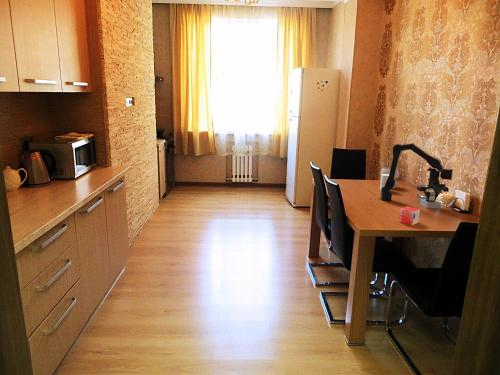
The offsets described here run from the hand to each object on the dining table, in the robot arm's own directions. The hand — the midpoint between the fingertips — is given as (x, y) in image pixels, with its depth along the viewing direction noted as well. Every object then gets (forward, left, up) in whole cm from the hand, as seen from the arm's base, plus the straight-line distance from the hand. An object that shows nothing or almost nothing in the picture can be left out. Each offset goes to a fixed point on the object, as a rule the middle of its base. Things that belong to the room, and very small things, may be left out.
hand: (430, 201), depth 240 cm
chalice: (-6, +59, -4) cm, 59 cm away
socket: (0, +1, -4) cm, 4 cm away
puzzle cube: (-29, -34, -4) cm, 45 cm away
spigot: (0, 0, -2) cm, 2 cm away
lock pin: (0, +13, -2) cm, 13 cm away
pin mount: (0, +10, -4) cm, 10 cm away
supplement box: (-14, +44, -4) cm, 46 cm away
